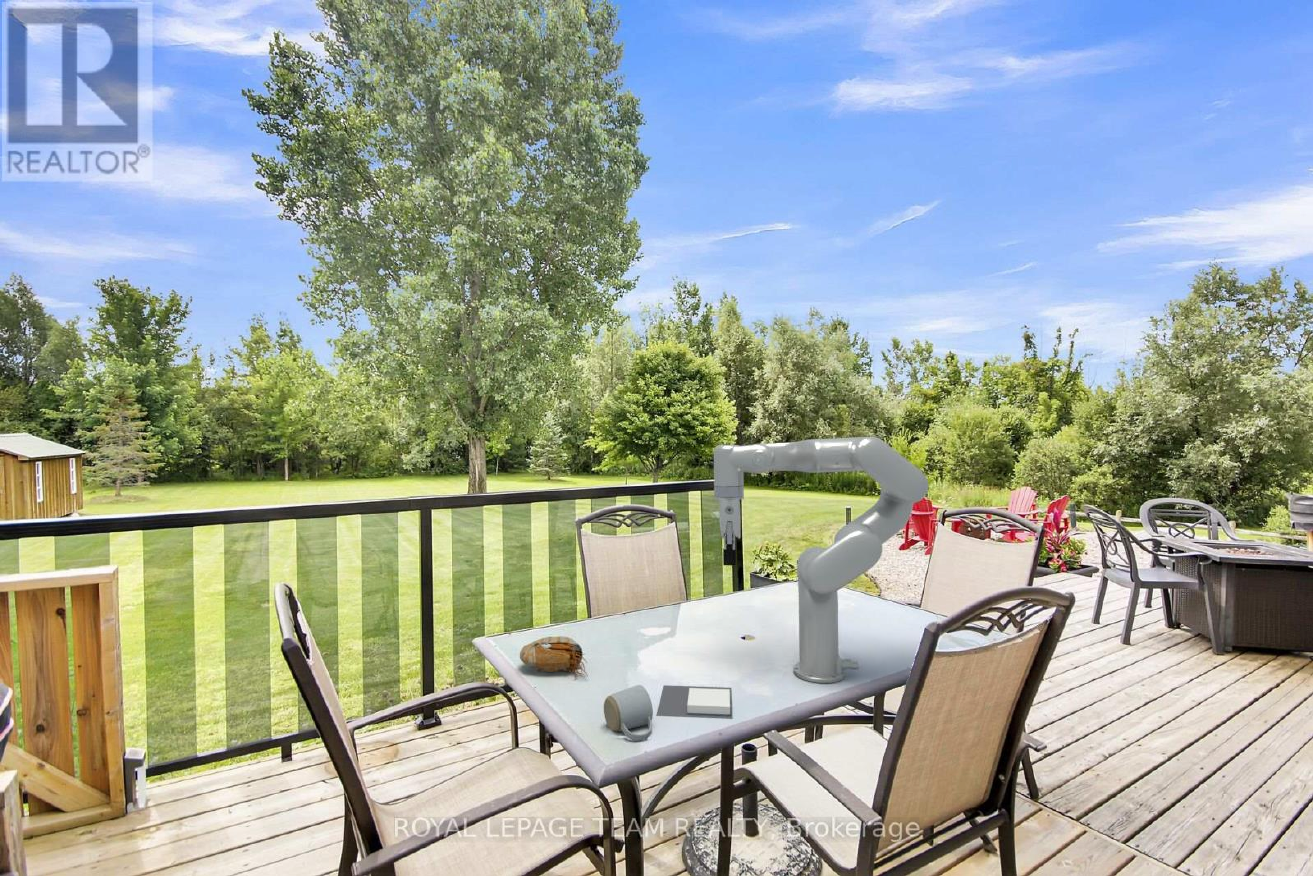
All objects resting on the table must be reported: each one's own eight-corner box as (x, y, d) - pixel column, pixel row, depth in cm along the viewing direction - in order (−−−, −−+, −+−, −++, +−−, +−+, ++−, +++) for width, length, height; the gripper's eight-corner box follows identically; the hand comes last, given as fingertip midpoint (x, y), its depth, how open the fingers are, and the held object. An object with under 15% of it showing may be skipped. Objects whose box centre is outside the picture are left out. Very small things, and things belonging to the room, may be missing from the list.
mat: (731, 690, 140) (731, 687, 140) (732, 721, 124) (732, 718, 124) (663, 687, 141) (663, 685, 141) (656, 718, 125) (656, 715, 125)
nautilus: (606, 677, 149) (555, 698, 139) (560, 651, 165) (511, 667, 156) (606, 647, 149) (554, 665, 139) (560, 623, 165) (511, 637, 155)
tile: (729, 689, 134) (730, 706, 125) (729, 698, 134) (730, 716, 125) (689, 688, 135) (687, 705, 126) (689, 696, 135) (687, 714, 126)
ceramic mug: (601, 725, 123) (601, 687, 123) (635, 715, 127) (635, 679, 127) (626, 747, 114) (626, 707, 114) (662, 736, 118) (662, 697, 118)
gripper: (744, 495, 144) (745, 571, 144) (742, 490, 159) (743, 559, 159) (713, 495, 145) (714, 570, 145) (714, 490, 160) (715, 559, 160)
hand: (729, 564), depth 152 cm, fingers closed
